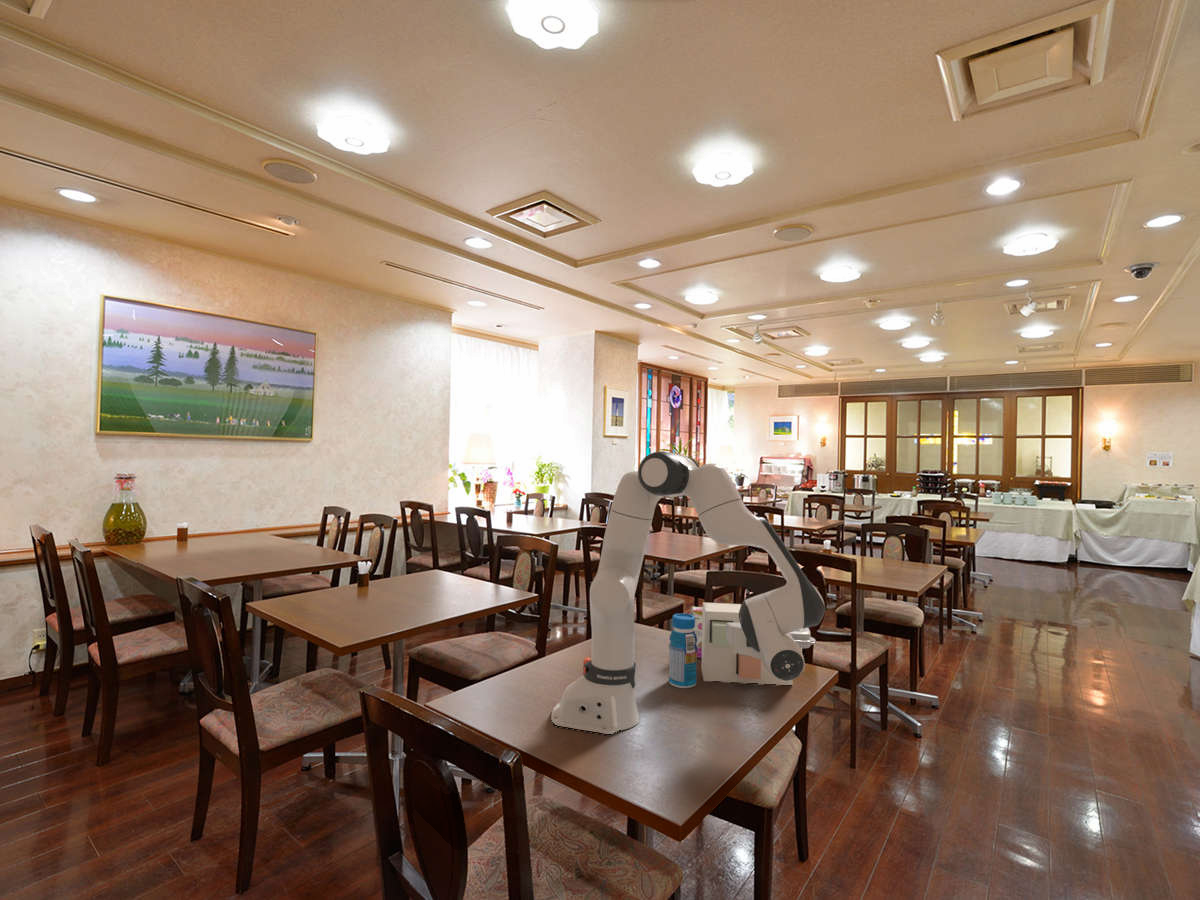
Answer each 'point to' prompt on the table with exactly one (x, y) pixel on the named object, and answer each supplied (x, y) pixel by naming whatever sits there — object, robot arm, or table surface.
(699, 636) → the candy bar box
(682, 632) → the beverage bottle
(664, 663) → the table surface
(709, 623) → the button panel
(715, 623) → the sage-green button
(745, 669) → the terracotta button
